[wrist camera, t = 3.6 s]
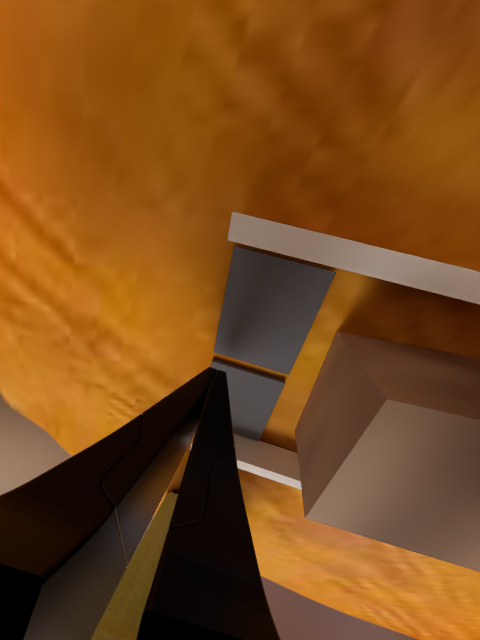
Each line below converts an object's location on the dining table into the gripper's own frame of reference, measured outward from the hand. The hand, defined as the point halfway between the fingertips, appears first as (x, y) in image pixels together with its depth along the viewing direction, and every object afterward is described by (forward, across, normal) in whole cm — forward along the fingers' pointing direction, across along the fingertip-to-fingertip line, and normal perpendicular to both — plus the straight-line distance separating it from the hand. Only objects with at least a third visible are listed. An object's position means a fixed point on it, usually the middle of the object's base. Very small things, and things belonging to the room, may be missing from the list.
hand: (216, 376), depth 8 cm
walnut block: (+2, -8, 0) cm, 9 cm away
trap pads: (+1, -1, 0) cm, 2 cm away
